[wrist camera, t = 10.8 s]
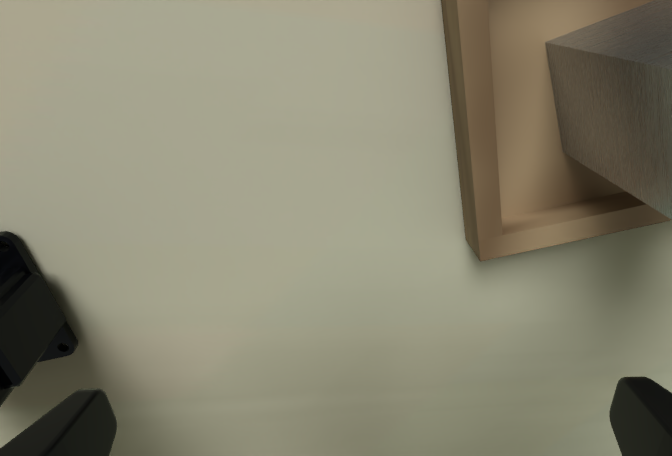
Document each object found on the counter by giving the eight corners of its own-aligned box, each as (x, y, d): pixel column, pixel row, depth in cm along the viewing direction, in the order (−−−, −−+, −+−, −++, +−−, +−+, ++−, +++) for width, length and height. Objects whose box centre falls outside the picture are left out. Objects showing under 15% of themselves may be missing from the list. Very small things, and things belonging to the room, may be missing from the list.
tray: (465, 239, 22) (480, 261, 20) (434, -60, 17) (450, -66, 15) (730, 181, 22) (769, 199, 20) (784, -144, 16) (844, -160, 15)
